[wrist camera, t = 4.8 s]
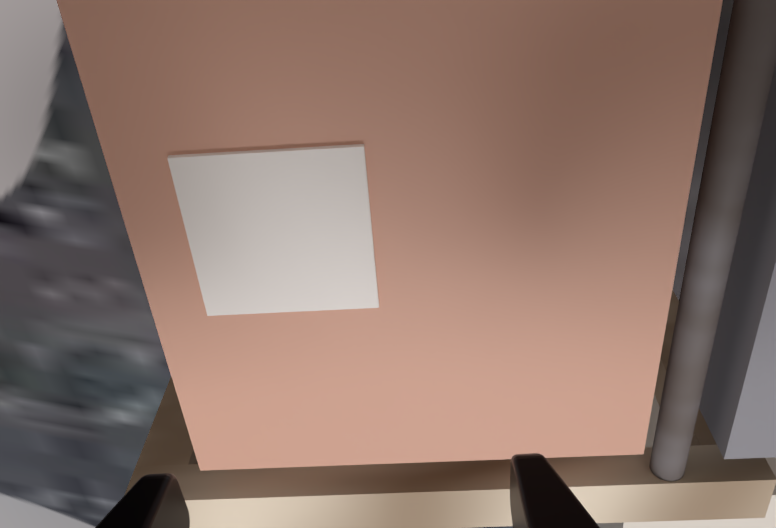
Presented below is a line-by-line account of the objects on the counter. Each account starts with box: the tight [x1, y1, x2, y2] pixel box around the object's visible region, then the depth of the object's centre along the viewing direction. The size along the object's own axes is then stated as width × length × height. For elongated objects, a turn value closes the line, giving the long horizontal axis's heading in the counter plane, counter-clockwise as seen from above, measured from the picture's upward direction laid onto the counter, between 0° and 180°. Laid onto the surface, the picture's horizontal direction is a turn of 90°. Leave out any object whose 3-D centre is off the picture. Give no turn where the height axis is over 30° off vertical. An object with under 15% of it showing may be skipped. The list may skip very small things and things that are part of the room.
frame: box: [124, 0, 776, 528], centre depth 16 cm, size 14×15×9 cm
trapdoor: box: [57, 0, 776, 471], centre depth 12 cm, size 14×11×2 cm
